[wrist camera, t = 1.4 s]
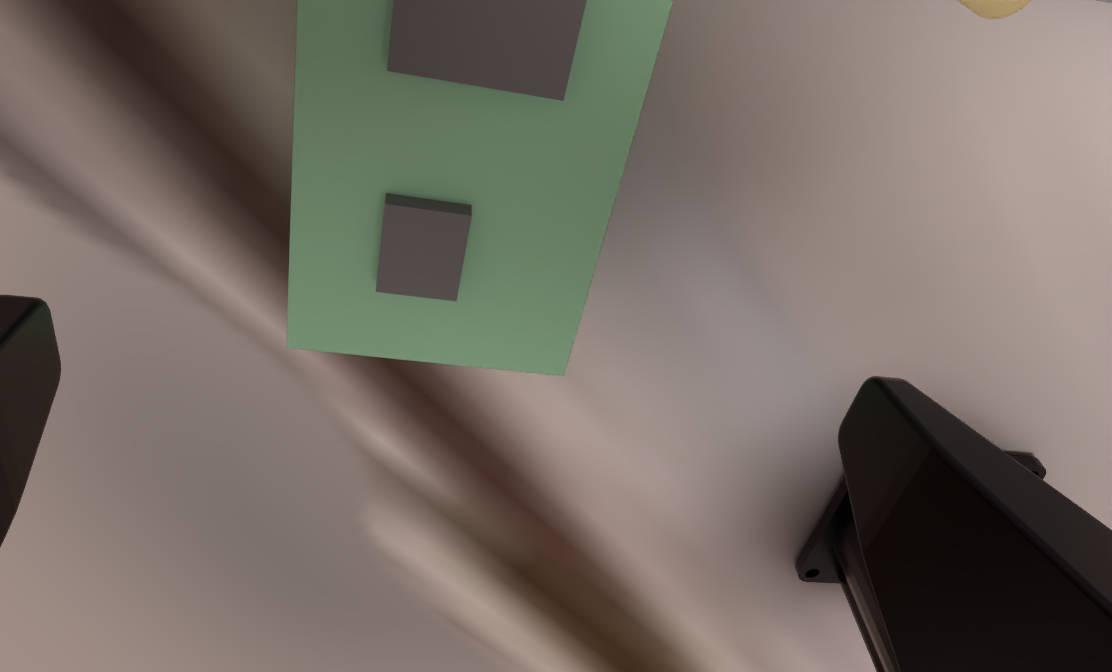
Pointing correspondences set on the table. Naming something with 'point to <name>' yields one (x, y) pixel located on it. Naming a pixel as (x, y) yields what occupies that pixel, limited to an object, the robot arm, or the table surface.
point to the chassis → (997, 7)
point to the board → (459, 172)
